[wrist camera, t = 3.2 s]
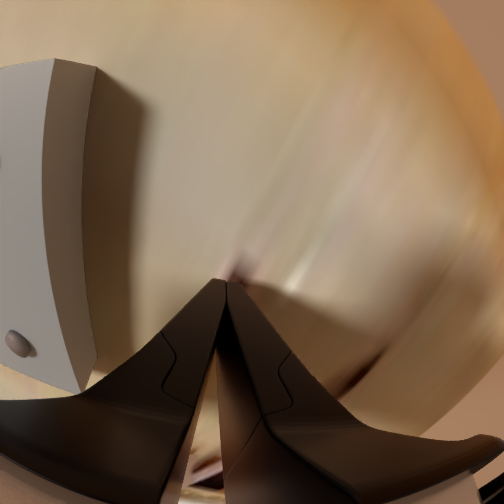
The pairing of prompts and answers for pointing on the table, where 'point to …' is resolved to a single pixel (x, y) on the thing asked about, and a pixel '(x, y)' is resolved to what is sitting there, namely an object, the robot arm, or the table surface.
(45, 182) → the leaf
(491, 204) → the table surface
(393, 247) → the table surface
